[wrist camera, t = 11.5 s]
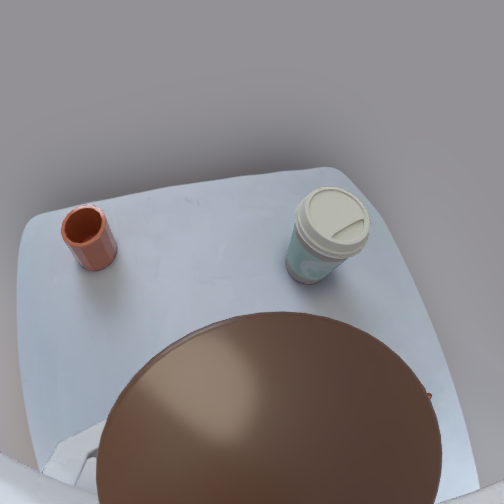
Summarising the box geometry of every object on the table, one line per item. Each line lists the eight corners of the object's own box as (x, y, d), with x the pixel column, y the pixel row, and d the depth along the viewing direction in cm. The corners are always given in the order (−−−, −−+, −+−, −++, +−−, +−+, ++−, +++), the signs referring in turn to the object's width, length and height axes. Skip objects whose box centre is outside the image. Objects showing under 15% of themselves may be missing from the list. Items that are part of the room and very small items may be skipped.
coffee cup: (276, 293, 41) (304, 246, 30) (273, 235, 45) (296, 178, 34) (339, 294, 42) (381, 252, 31) (331, 239, 46) (365, 187, 36)
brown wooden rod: (195, 443, 16) (140, 629, 1) (189, 403, 18) (79, 323, 2) (238, 439, 17) (451, 551, 1) (232, 399, 18) (409, 289, 3)
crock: (75, 272, 38) (57, 248, 32) (79, 233, 40) (65, 206, 35) (115, 270, 39) (103, 245, 33) (117, 230, 41) (107, 202, 36)
